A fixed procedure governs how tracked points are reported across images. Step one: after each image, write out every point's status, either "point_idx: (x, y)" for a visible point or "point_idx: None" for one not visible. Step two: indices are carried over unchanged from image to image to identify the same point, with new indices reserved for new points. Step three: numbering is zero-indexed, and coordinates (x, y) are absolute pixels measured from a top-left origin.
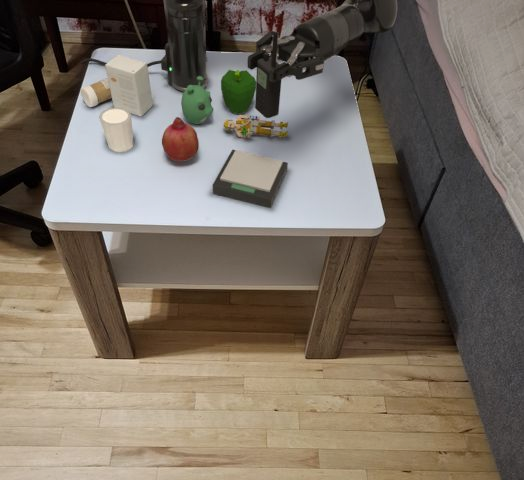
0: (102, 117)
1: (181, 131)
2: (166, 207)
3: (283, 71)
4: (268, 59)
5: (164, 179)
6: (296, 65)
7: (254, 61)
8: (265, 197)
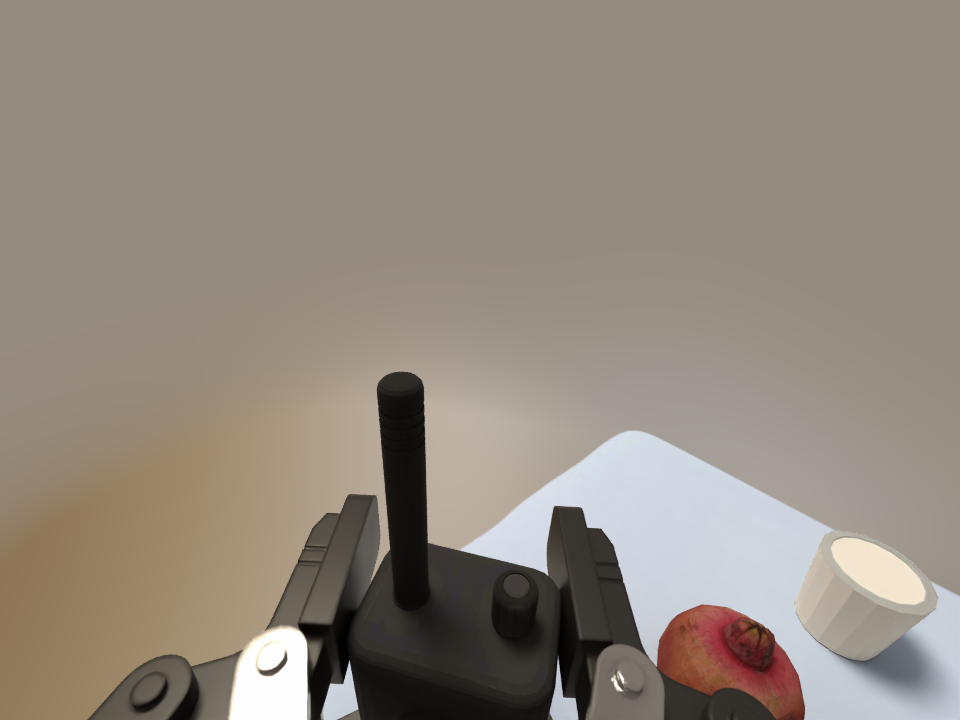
0: (872, 543)
1: (713, 633)
2: (542, 543)
3: (298, 565)
4: (491, 617)
5: (634, 604)
6: (204, 712)
7: (556, 557)
8: (343, 717)
